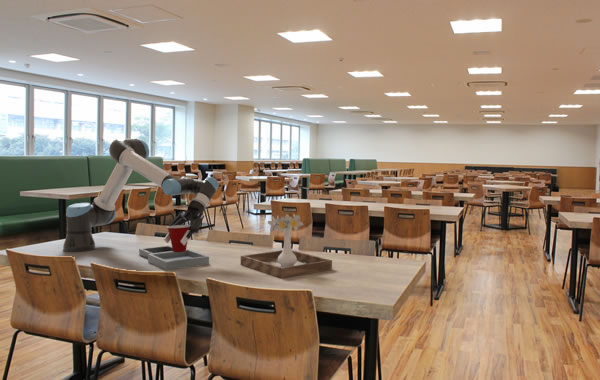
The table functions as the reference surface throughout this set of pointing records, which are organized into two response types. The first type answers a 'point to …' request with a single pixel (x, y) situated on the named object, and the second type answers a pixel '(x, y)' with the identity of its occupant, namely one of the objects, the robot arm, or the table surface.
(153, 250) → the square collar
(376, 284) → the table surface
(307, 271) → the frame
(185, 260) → the tray
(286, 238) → the flower vase
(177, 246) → the plastic cup
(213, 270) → the table surface
